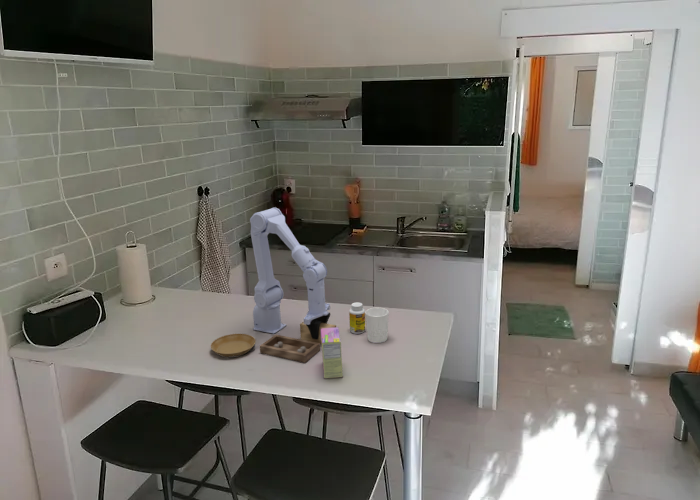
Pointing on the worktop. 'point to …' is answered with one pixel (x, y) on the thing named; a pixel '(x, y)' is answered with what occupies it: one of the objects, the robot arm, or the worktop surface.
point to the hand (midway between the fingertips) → (318, 335)
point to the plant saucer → (233, 345)
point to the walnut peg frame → (290, 348)
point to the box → (331, 352)
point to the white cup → (377, 324)
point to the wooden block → (307, 336)
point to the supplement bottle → (357, 318)
